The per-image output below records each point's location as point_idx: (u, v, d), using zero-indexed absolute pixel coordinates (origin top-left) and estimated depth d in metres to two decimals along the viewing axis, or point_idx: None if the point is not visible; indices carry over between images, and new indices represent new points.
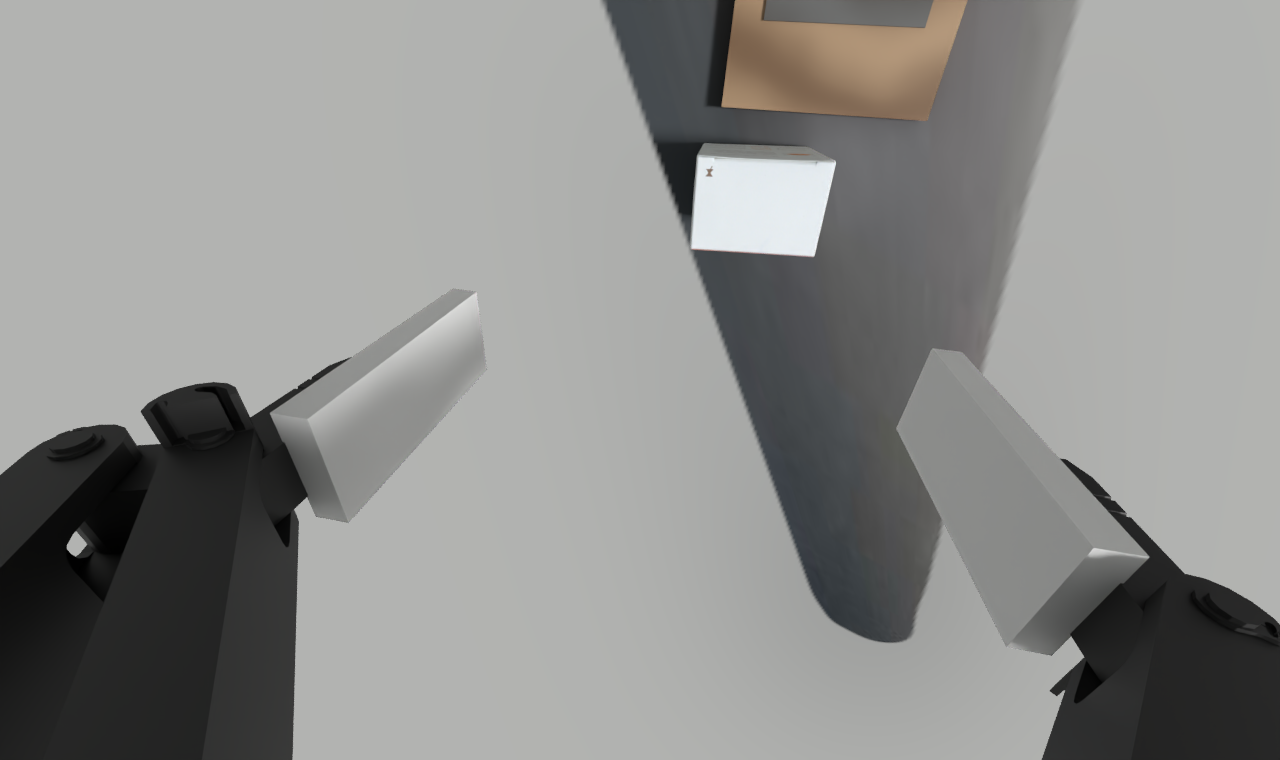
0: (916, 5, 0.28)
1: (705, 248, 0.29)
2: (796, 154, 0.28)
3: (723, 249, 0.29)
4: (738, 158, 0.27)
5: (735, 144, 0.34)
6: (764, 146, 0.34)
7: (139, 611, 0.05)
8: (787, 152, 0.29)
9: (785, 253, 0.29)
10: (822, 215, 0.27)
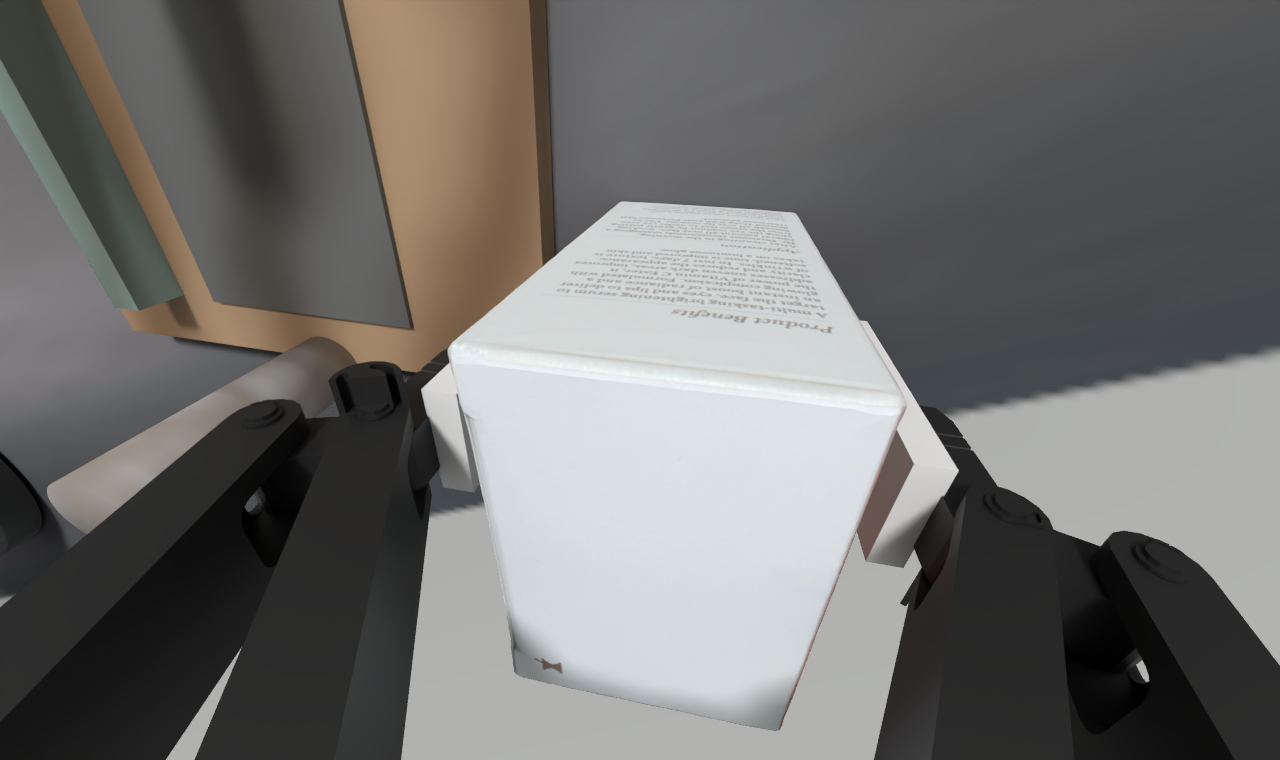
0: (300, 2, 0.12)
1: (779, 709, 0.08)
2: None
3: (794, 676, 0.08)
4: (506, 604, 0.09)
5: None
6: None
7: (307, 563, 0.06)
8: None
9: (854, 518, 0.06)
10: (678, 382, 0.05)
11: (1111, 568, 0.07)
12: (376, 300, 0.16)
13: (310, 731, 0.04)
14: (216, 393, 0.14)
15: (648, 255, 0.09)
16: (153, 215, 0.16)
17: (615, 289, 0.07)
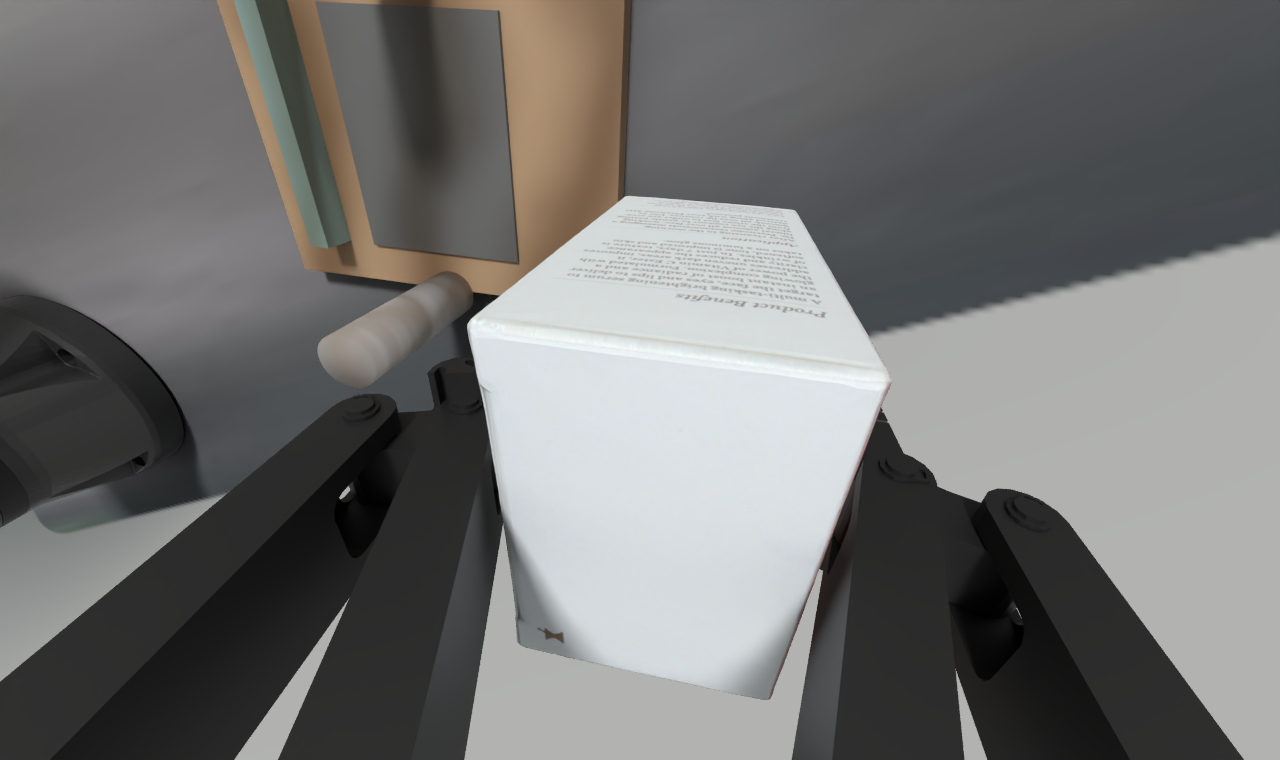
0: (474, 37, 0.19)
1: (770, 677, 0.09)
2: None
3: (784, 644, 0.08)
4: (512, 574, 0.09)
5: None
6: None
7: (399, 550, 0.06)
8: None
9: (842, 488, 0.06)
10: (682, 357, 0.06)
11: (988, 525, 0.07)
12: (495, 241, 0.23)
13: (392, 721, 0.05)
14: (396, 298, 0.21)
15: (653, 245, 0.10)
16: (341, 180, 0.23)
17: (621, 274, 0.08)
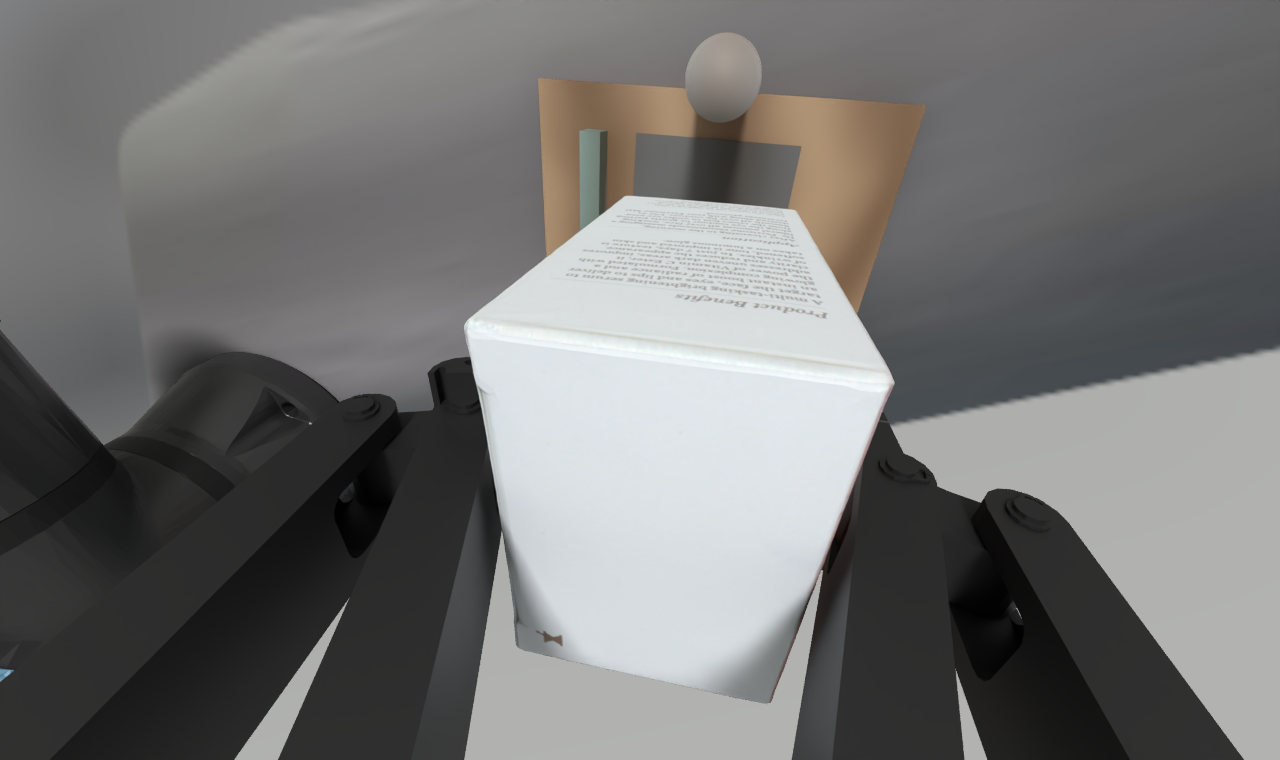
0: (774, 165, 0.23)
1: (771, 680, 0.09)
2: None
3: (785, 648, 0.08)
4: (510, 576, 0.09)
5: None
6: None
7: (399, 550, 0.06)
8: None
9: (843, 491, 0.06)
10: (682, 358, 0.06)
11: (988, 525, 0.07)
12: None
13: (392, 721, 0.05)
14: None
15: (653, 245, 0.09)
16: None
17: (620, 275, 0.08)
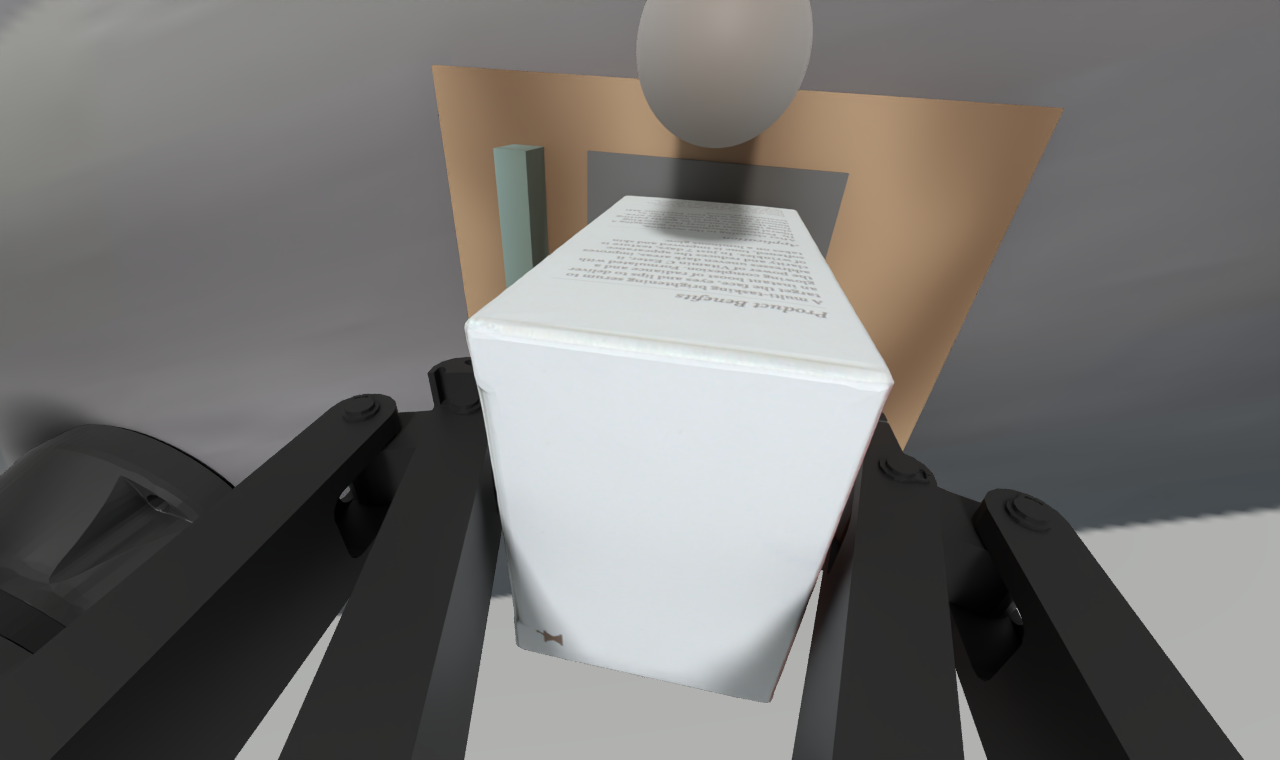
0: (804, 202, 0.14)
1: (770, 680, 0.09)
2: None
3: (785, 647, 0.08)
4: (511, 576, 0.09)
5: None
6: None
7: (399, 550, 0.06)
8: None
9: (843, 490, 0.06)
10: (682, 357, 0.06)
11: (988, 525, 0.07)
12: None
13: (392, 722, 0.05)
14: None
15: (653, 245, 0.09)
16: None
17: (621, 275, 0.08)
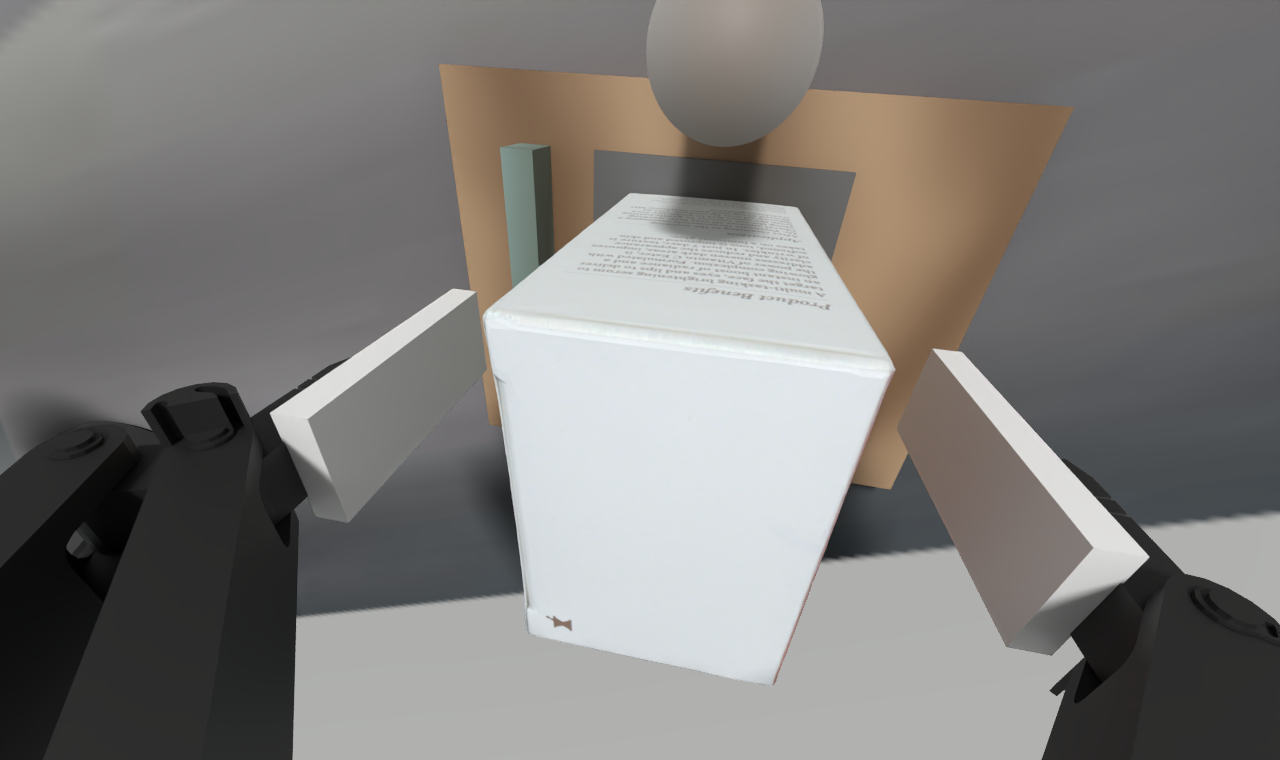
0: (811, 201, 0.14)
1: (775, 663, 0.09)
2: None
3: (788, 630, 0.09)
4: (522, 562, 0.09)
5: None
6: None
7: (139, 611, 0.05)
8: None
9: (846, 475, 0.07)
10: (692, 346, 0.06)
11: None
12: None
13: None
14: None
15: (659, 241, 0.10)
16: None
17: (630, 269, 0.08)
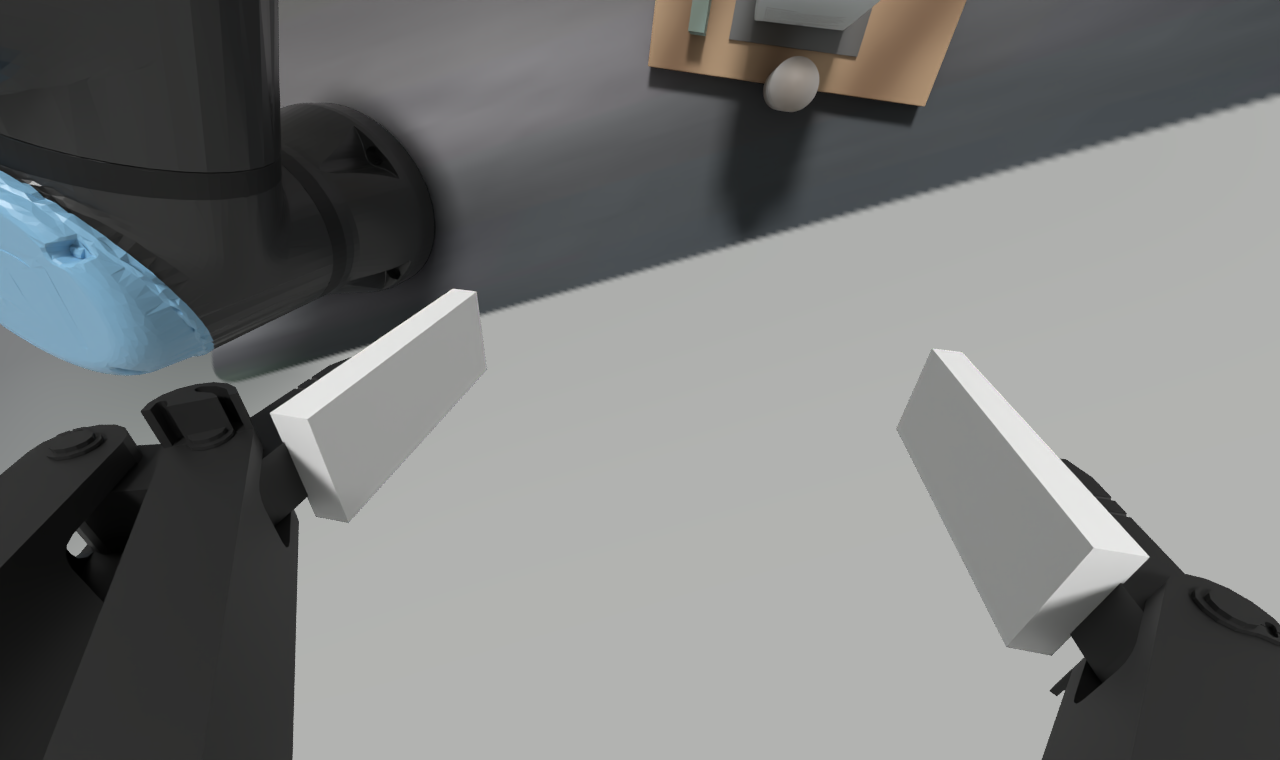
0: None
1: None
2: None
3: None
4: None
5: None
6: None
7: (139, 611, 0.05)
8: None
9: None
10: None
11: None
12: (845, 35, 0.28)
13: None
14: None
15: None
16: None
17: None
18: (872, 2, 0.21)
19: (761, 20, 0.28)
